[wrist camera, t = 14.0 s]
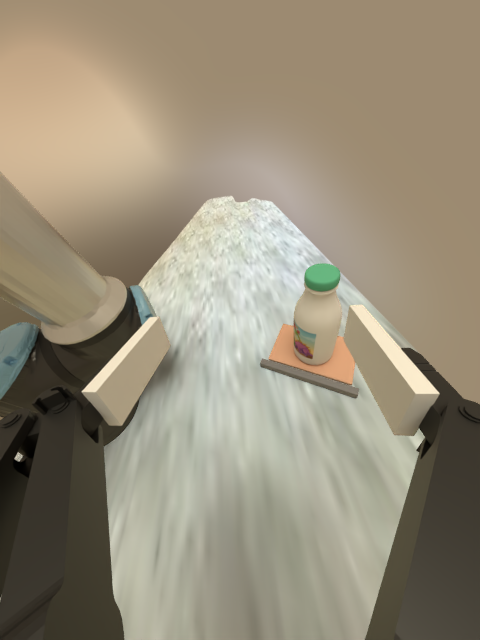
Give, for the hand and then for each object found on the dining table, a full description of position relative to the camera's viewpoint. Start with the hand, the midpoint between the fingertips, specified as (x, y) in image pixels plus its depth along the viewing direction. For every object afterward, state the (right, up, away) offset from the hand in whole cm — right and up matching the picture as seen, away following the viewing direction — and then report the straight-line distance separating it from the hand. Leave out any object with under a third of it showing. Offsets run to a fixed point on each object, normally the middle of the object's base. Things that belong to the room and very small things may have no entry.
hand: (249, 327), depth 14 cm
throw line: (+12, -11, +25) cm, 30 cm away
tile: (+15, -6, +28) cm, 33 cm away
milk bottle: (+15, -6, +28) cm, 32 cm away
